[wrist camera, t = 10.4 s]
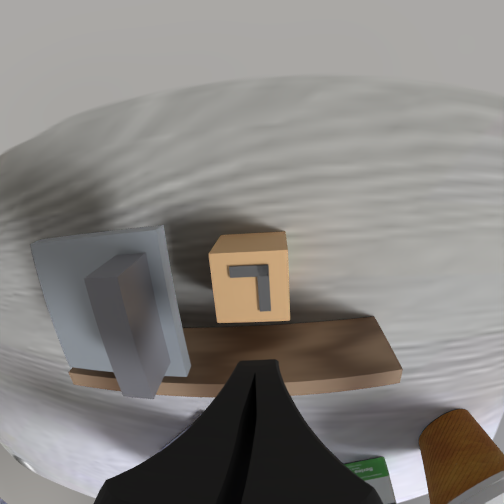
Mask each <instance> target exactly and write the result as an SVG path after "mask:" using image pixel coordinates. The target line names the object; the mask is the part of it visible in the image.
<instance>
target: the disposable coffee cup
mask: <svg viewBox="0 0 504 504" xmlns="http://www.w3.org/2000/svg"><path fill="white" fill-rule="evenodd" d="M419 446H420V450H421V455H422V460H423V465H424V470H425V475H426V481H427V486H428V492H429V498H430V504H504V454H503V453H502V452H501V451H500V449H499V448H498V447H497V445H496V444H495V443H494V442H493V441H492V439H491V438H490V437H489V436H488V434H487V433H486V432H485V431H484V430H483V429H482V427H481V426H480V425H479V424H478V423H477V421H476V420H475V419H474V418H473V417H472V415H471V414H470V413H469V412H468V411H467V410H465V409H457V410H453V411H450V412H448V413H446V414H444V415H442V416H440V417H439V418H437V419H436V420H434V421H433V422H432V423H431V424H429V425H428V426H427V427H426V428H425V430H424V431H423V432H422V434H421V435H420V438H419Z"/></svg>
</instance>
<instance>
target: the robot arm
mask: <svg viewBox="0 0 504 504" xmlns="http://www.w3.org/2000/svg"><path fill="white" fill-rule="evenodd" d="M0 504H7V503H6V502H4V501H3V500H2V499H1V498H0ZM94 504H383V502H382V500H381V498H380V496H379V495H378V493H377V491H376V490H375V488H374V487H373V486H371V485H370V484H368V483H367V482H365V481H364V480H363V479H361V478H360V477H359V476H357V475H356V474H355V473H354V472H352V471H351V470H350V469H349V468H348V467H346V466H345V465H344V464H343V463H342V462H341V461H340V460H339V459H338V458H337V457H336V456H335V455H334V454H333V453H332V452H331V451H330V450H329V449H328V448H327V447H326V446H325V445H324V444H323V443H322V442H321V441H320V439H319V438H318V437H317V436H316V435H315V433H314V432H313V431H312V430H311V428H310V427H309V426H308V424H307V423H306V421H305V420H304V418H303V417H302V415H301V414H300V412H299V410H298V409H297V407H296V406H295V404H294V402H293V400H292V398H291V396H290V394H289V392H288V390H287V388H286V386H285V383H284V381H283V378H282V375H281V372H280V368H279V361H277V360H276V359H267V360H243V361H239V362H238V363H237V365H236V367H235V369H234V371H233V372H232V374H231V376H230V377H229V379H228V380H227V382H226V383H225V385H224V386H223V388H222V389H221V391H220V392H219V393H218V395H217V396H216V398H215V399H214V400H213V401H212V403H211V404H210V405H209V406H208V407H207V409H206V410H205V411H204V412H203V413H202V415H201V416H200V417H199V418H198V419H197V420H196V421H195V422H194V423H193V424H192V425H191V426H190V427H188V428H187V429H186V430H185V431H184V432H182V433H181V434H180V435H179V436H178V437H176V438H175V439H174V440H173V441H171V442H170V443H169V444H168V445H166V446H165V447H164V448H163V449H161V450H160V452H158V453H157V454H155V455H154V456H152V457H151V458H149V459H148V460H146V461H144V462H143V463H141V464H139V465H138V466H136V467H134V468H132V469H130V470H128V471H126V472H123V473H121V474H119V475H117V476H115V477H113V478H110V479H108V480H106V481H105V483H104V485H103V486H102V488H101V489H100V491H99V493H98V495H97V497H96V500H95V502H94Z"/></svg>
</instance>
